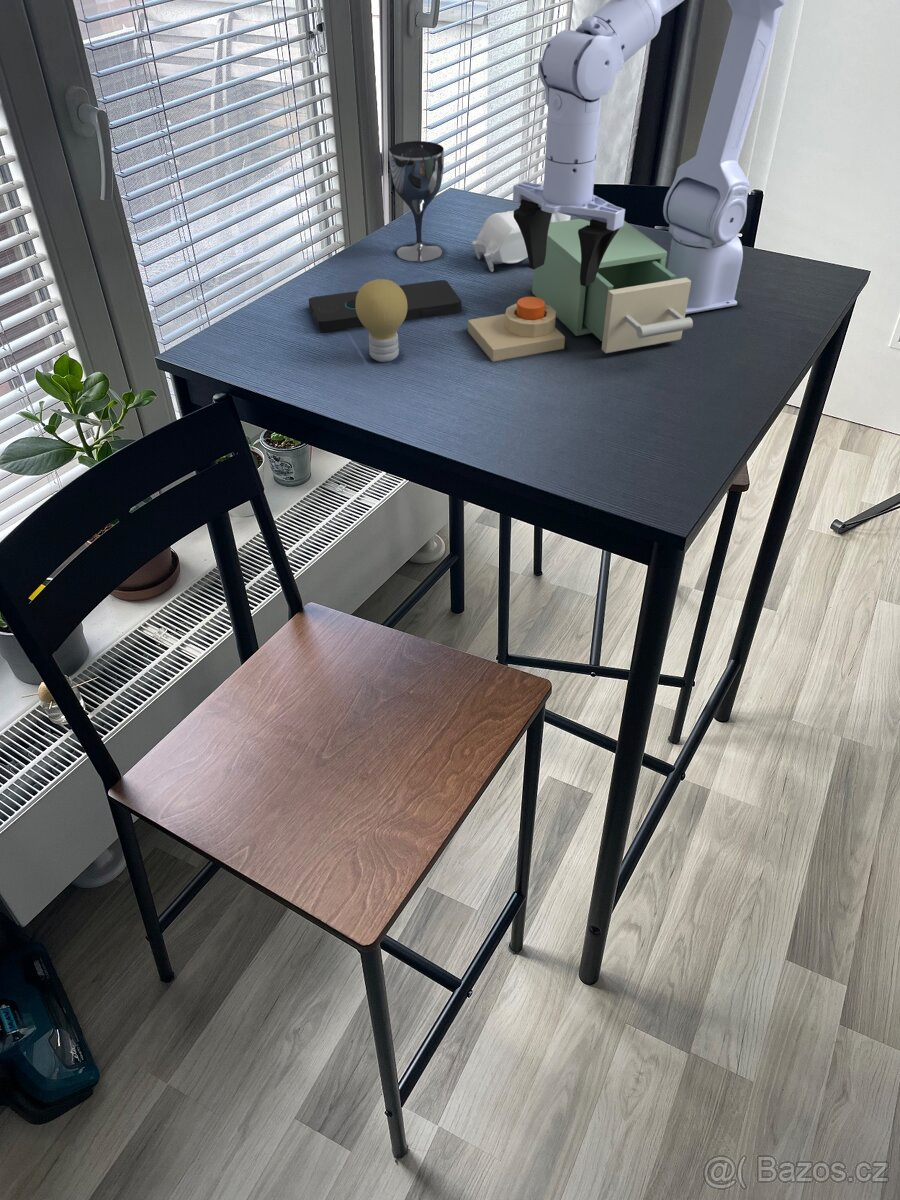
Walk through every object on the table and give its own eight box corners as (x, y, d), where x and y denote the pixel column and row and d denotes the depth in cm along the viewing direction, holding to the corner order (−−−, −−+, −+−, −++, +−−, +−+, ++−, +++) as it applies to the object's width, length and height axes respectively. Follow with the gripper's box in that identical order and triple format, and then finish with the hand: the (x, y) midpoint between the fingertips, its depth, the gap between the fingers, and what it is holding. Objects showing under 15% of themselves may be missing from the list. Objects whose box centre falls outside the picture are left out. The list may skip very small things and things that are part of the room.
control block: (537, 319, 125) (539, 295, 123) (566, 348, 119) (568, 323, 117) (467, 331, 123) (467, 306, 120) (492, 362, 116) (493, 336, 114)
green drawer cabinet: (656, 322, 124) (667, 251, 118) (575, 336, 121) (582, 265, 115) (607, 280, 135) (614, 213, 128) (531, 292, 132) (535, 224, 125)
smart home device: (307, 296, 127) (445, 277, 131) (308, 308, 128) (445, 289, 133) (318, 321, 121) (462, 301, 125) (319, 333, 122) (462, 313, 127)
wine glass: (392, 243, 145) (387, 142, 135) (442, 241, 146) (441, 140, 136) (394, 263, 140) (389, 158, 130) (446, 261, 140) (445, 157, 130)
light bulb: (371, 374, 114) (366, 296, 108) (351, 352, 118) (345, 277, 112) (417, 362, 116) (415, 286, 110) (396, 341, 121) (393, 267, 114)
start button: (537, 307, 121) (538, 294, 120) (548, 318, 118) (549, 305, 117) (512, 311, 120) (512, 298, 119) (523, 323, 117) (523, 310, 116)
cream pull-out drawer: (700, 355, 115) (711, 296, 110) (623, 370, 113) (631, 310, 107) (631, 297, 128) (638, 241, 123) (560, 309, 125) (564, 253, 120)
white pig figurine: (501, 293, 138) (588, 243, 138) (483, 244, 132) (573, 192, 132) (480, 272, 144) (563, 224, 144) (462, 224, 138) (548, 174, 138)
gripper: (498, 151, 104) (495, 269, 114) (604, 179, 97) (591, 301, 106) (536, 137, 108) (530, 252, 117) (640, 162, 101) (625, 282, 110)
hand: (561, 274), depth 112 cm, fingers open, 7 cm apart
